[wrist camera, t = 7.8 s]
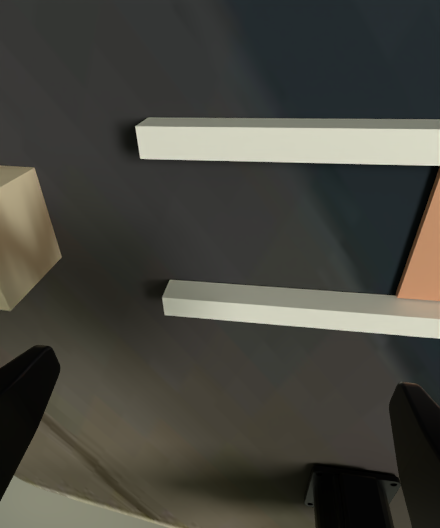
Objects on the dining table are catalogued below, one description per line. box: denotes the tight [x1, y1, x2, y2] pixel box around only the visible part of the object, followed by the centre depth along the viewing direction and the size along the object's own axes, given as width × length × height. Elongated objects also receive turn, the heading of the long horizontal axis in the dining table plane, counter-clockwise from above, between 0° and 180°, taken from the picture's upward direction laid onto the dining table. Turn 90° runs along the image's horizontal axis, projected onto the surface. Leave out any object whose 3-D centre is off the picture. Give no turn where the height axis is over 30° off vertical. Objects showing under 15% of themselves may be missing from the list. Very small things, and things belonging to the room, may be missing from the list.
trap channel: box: [135, 118, 440, 339], centre depth 15 cm, size 9×17×2 cm, turn 91°
